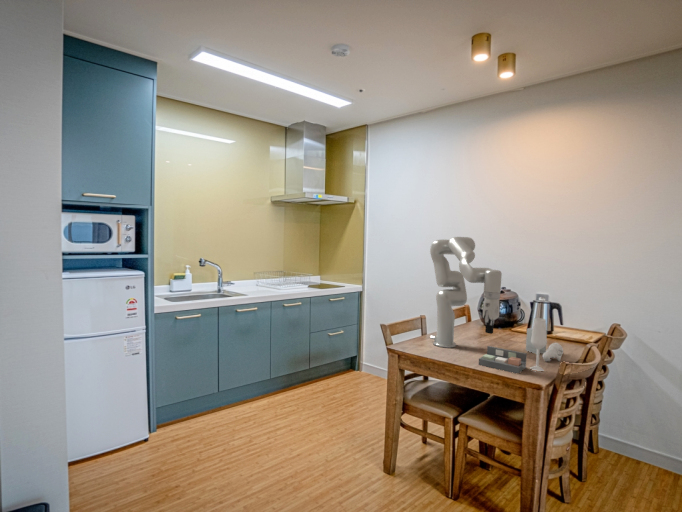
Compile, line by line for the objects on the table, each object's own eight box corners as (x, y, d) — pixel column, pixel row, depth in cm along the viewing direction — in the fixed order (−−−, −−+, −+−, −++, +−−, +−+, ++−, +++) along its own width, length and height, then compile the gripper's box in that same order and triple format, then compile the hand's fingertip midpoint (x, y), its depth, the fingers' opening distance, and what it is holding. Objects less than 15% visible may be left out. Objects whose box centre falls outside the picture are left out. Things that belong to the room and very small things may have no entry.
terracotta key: (507, 364, 186) (508, 358, 186) (511, 362, 190) (511, 356, 190) (518, 366, 183) (518, 360, 183) (521, 364, 187) (521, 358, 187)
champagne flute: (526, 367, 192) (529, 317, 191) (540, 367, 192) (542, 317, 191) (534, 371, 185) (536, 320, 184) (548, 372, 185) (551, 320, 184)
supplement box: (537, 354, 214) (538, 331, 214) (525, 350, 221) (526, 328, 220) (546, 353, 218) (547, 330, 217) (534, 349, 224) (535, 327, 224)
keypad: (478, 364, 193) (479, 350, 193) (487, 359, 202) (488, 345, 202) (518, 374, 181) (519, 358, 181) (525, 367, 191) (526, 353, 190)
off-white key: (494, 363, 190) (495, 358, 190) (497, 361, 194) (498, 356, 194) (504, 366, 187) (504, 360, 187) (507, 363, 191) (507, 358, 191)
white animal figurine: (564, 343, 204) (549, 348, 198) (564, 360, 205) (550, 365, 199) (553, 340, 210) (538, 345, 204) (553, 356, 210) (538, 361, 205)
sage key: (482, 361, 194) (482, 356, 194) (485, 359, 198) (485, 354, 197) (491, 363, 191) (491, 358, 191) (494, 361, 195) (495, 356, 195)
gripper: (494, 298, 185) (491, 337, 186) (504, 294, 196) (502, 331, 198) (478, 295, 190) (475, 334, 191) (489, 292, 201) (486, 328, 202)
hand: (489, 332), depth 194 cm, fingers closed
